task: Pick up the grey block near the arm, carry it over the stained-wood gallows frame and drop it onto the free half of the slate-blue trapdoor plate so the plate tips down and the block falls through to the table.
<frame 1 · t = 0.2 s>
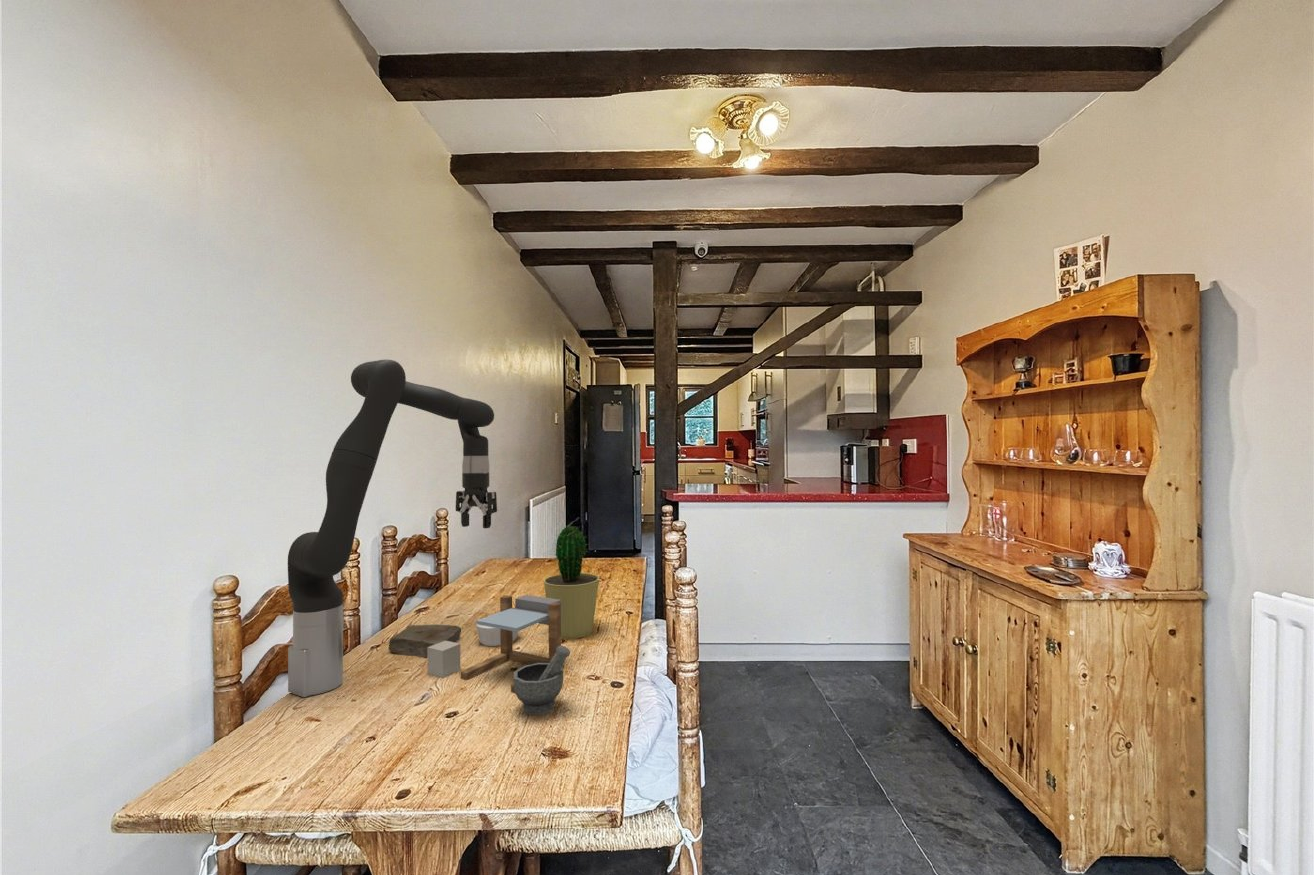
hand: (476, 527, 156), 29 cm above the table, fingers open, 8 cm apart
mortar and pestle: (542, 708, 105), on the table
frame: (513, 672, 122), on the table
potted cactus: (572, 632, 150), on the table
grey block: (444, 671, 124), on the table
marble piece: (424, 649, 140), on the table
ramekin: (498, 641, 144), on the table
trapdoor: (521, 616, 125), point 12 cm above the table, hinge at 0.0°
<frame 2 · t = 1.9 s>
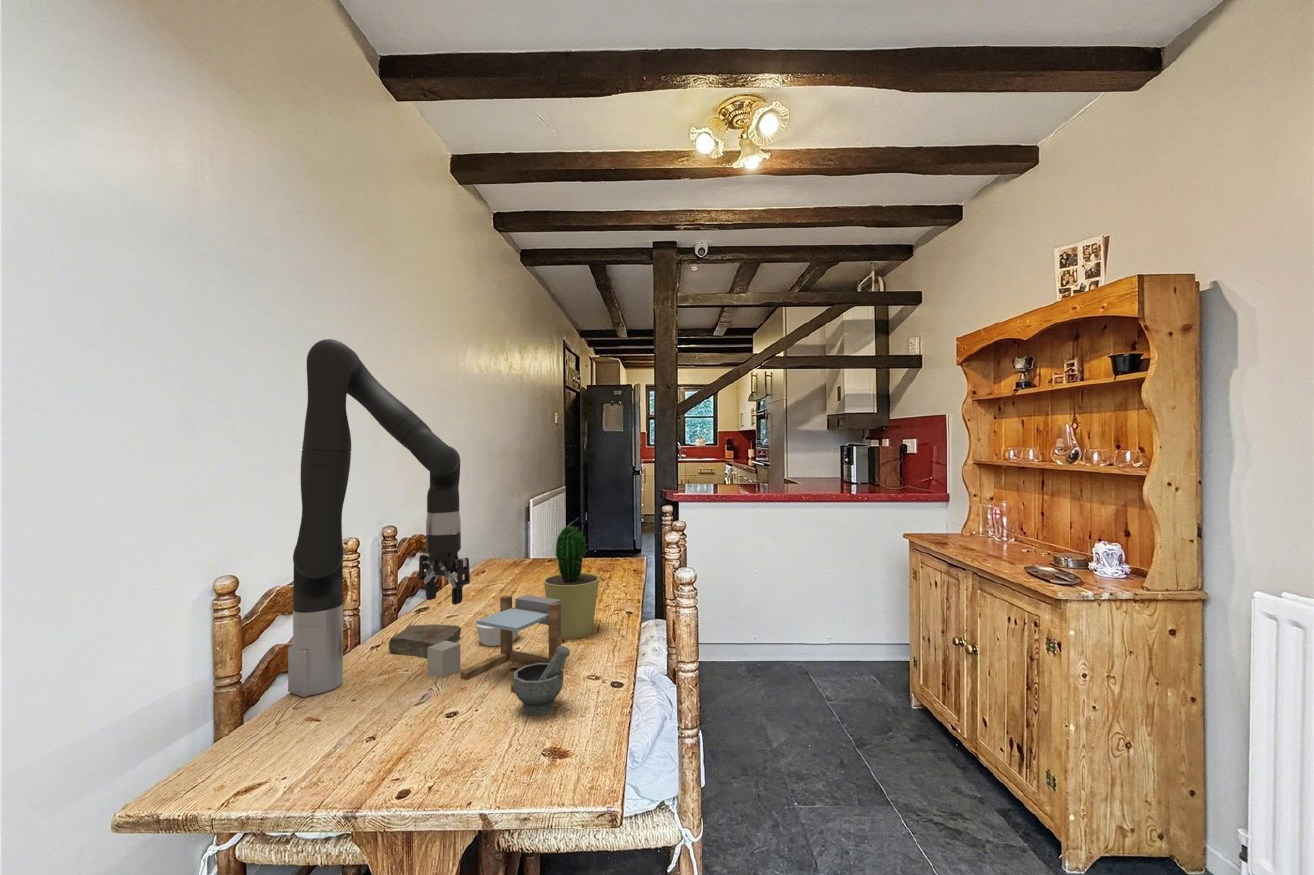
hand: (443, 601, 124), 16 cm above the table, fingers open, 8 cm apart
nothing on the table moved.
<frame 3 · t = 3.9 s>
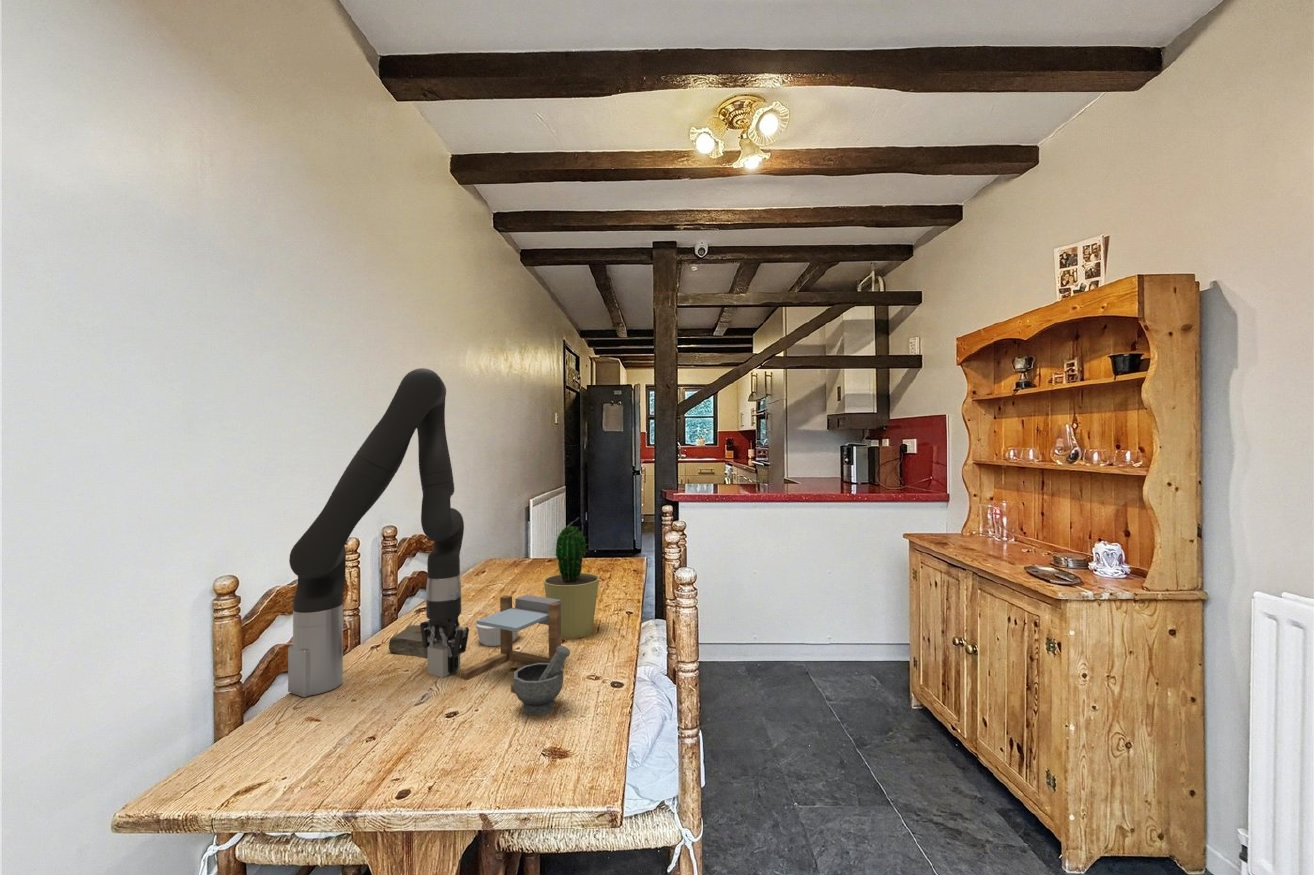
hand: (444, 669, 124), 0 cm above the table, fingers closed on grey block, 5 cm apart
grey block: (444, 671, 124), on the table, touching gripper
everything else where it was.
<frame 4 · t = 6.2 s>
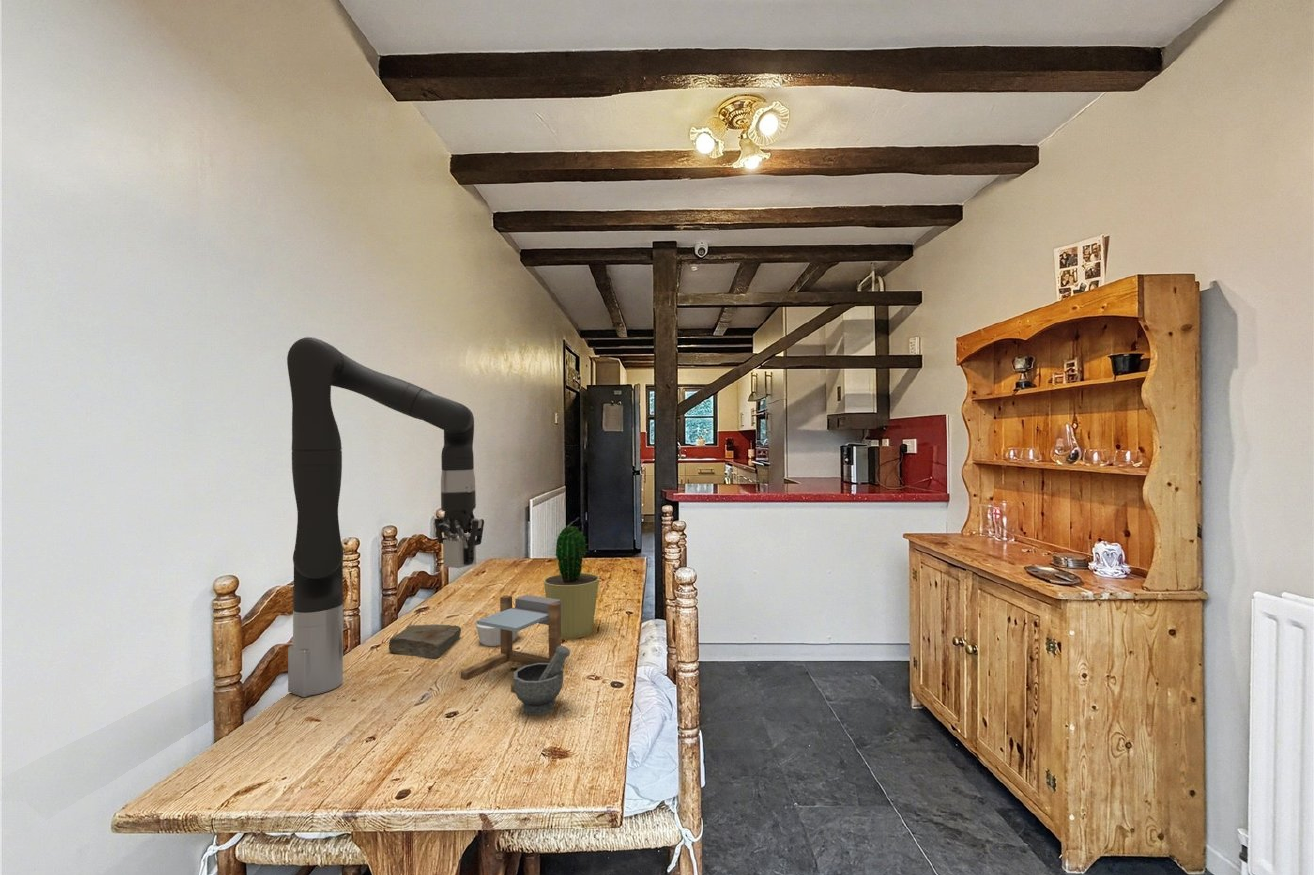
hand: (459, 563, 124), 25 cm above the table, fingers closed on grey block, 5 cm apart
grey block: (459, 565, 124), point 24 cm above the table, touching gripper
everything else where it was.
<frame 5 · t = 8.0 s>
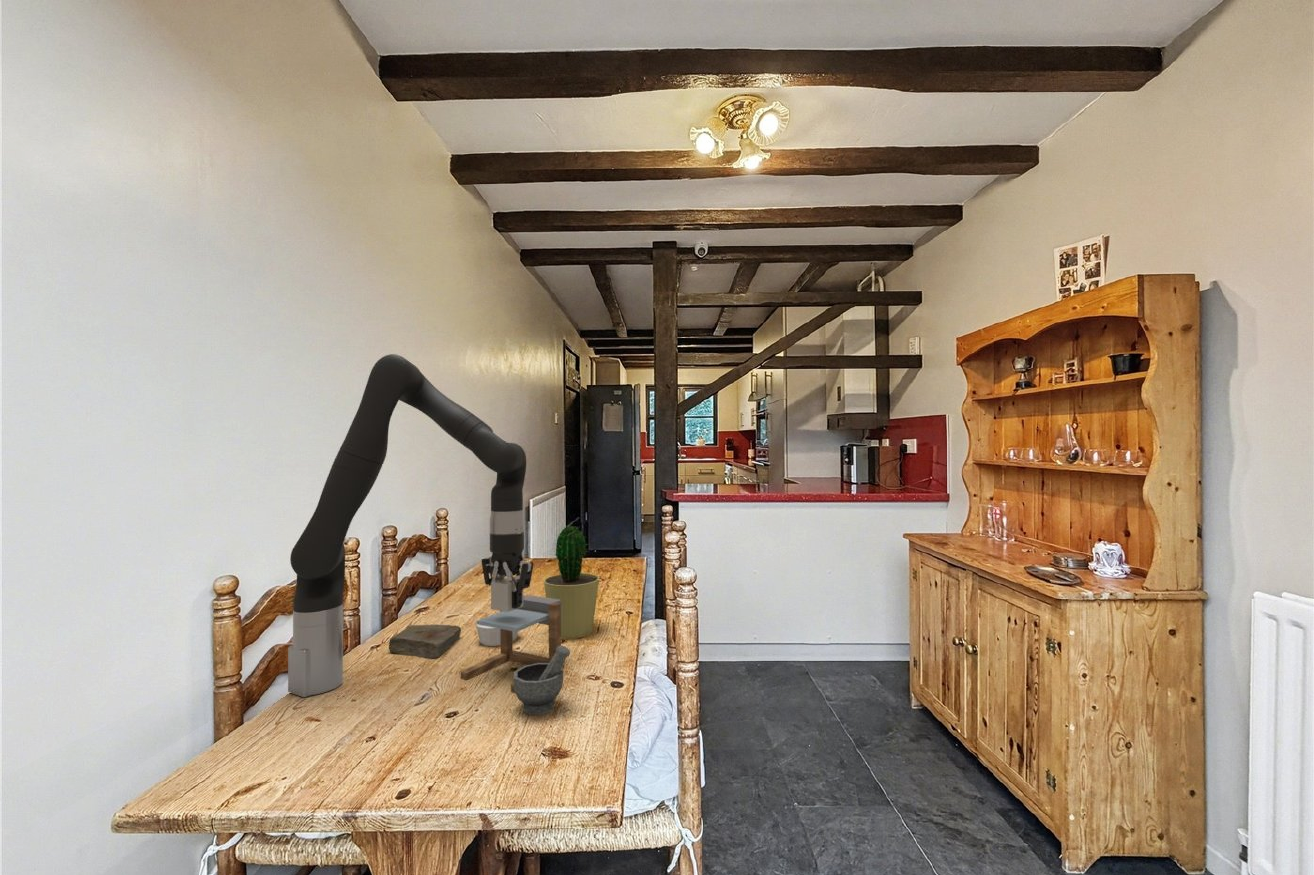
hand: (507, 605, 121), 16 cm above the table, fingers closed on grey block, 5 cm apart
grey block: (507, 607, 121), point 15 cm above the table, touching gripper
everything else where it was.
when the fingers open (16 cm above the table, at t = 8.4 s): grey block drops 9 cm and tips over, point 6 cm above the table.
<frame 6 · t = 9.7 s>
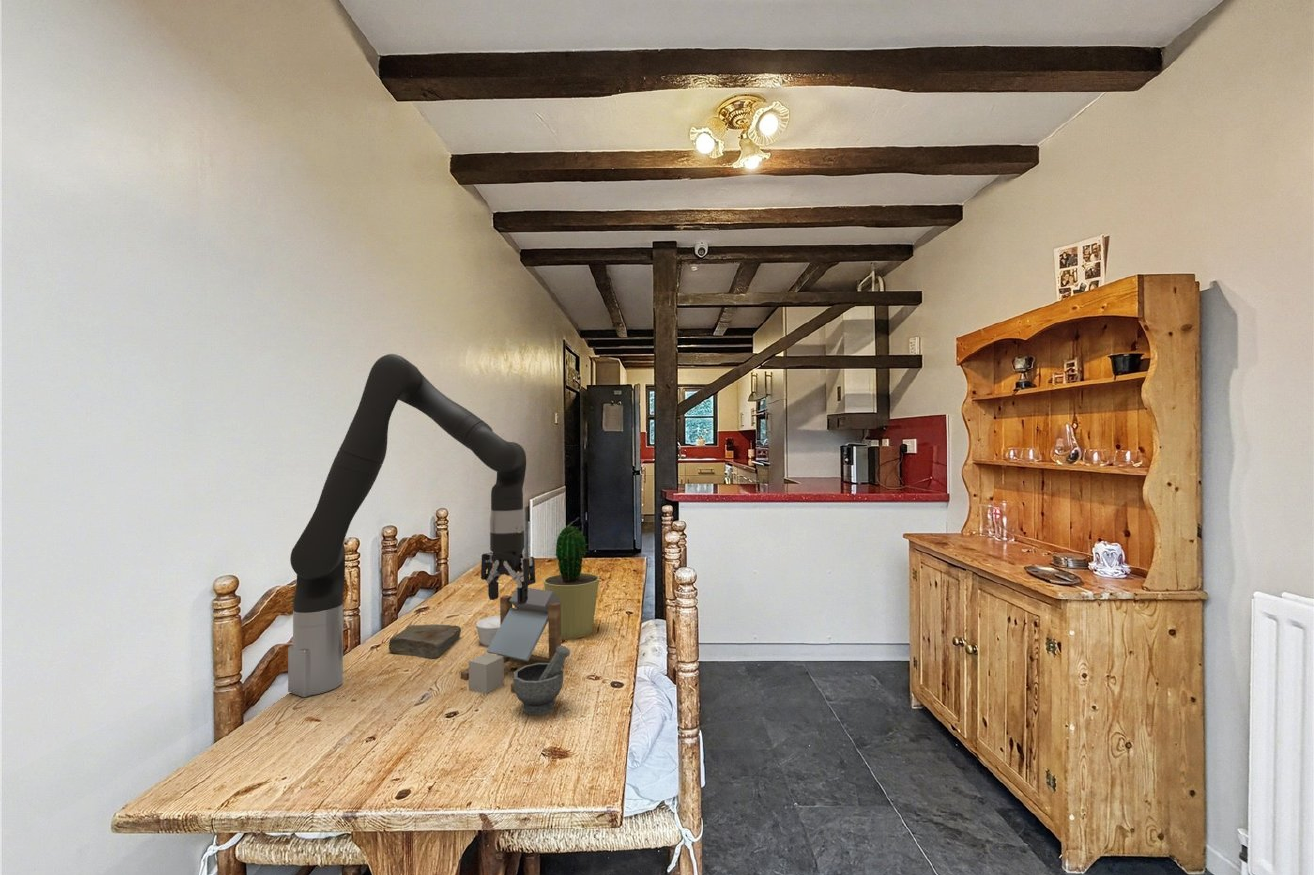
hand: (507, 601, 121), 16 cm above the table, fingers open, 8 cm apart
grey block: (486, 658, 115), point 6 cm above the table, tilted 180°
trapdoor: (523, 624, 126), point 10 cm above the table, hinge at -44.4°
everything else where it was.
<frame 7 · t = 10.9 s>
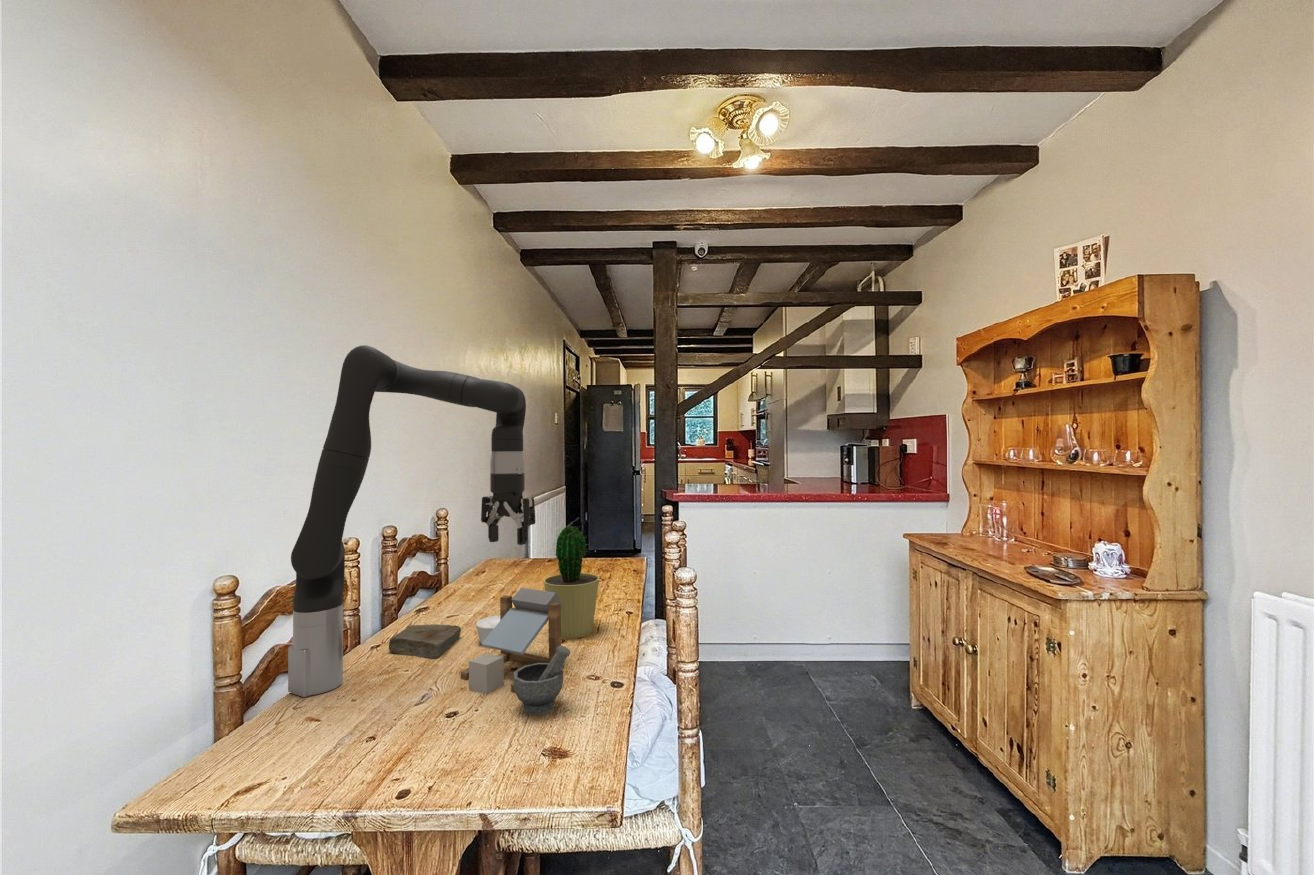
hand: (507, 543, 122), 30 cm above the table, fingers open, 8 cm apart
trapdoor: (522, 622, 125), point 11 cm above the table, hinge at -30.9°
everything else where it was.
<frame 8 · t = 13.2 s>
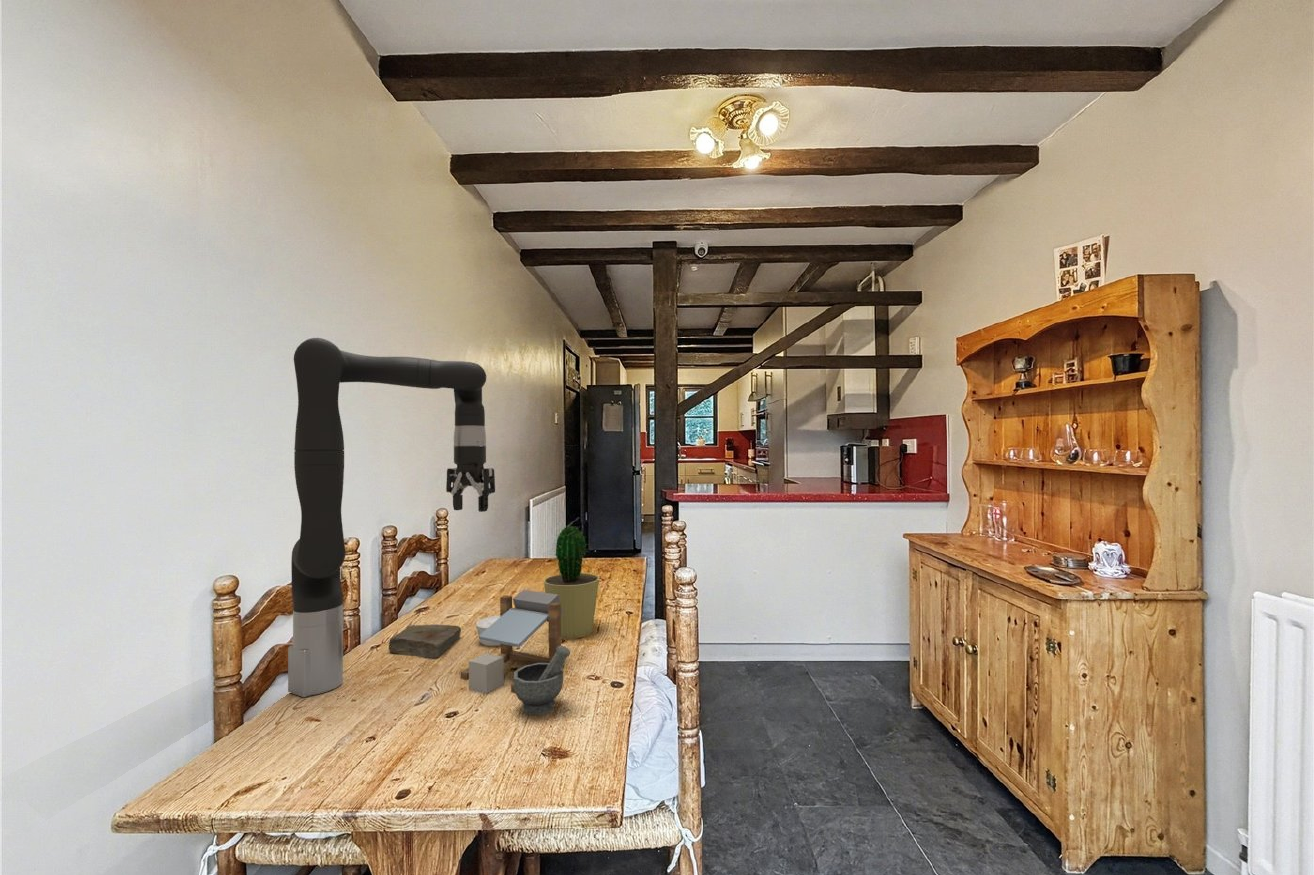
hand: (470, 510, 132), 36 cm above the table, fingers open, 8 cm apart
trapdoor: (521, 620, 125), point 11 cm above the table, hinge at -19.3°
everything else where it was.
at the end: grey block point 5.9 cm above the table; grey block inside the target area (7.1 cm from its centre), point 5.9 cm above the table; the gripper is holding nothing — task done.
